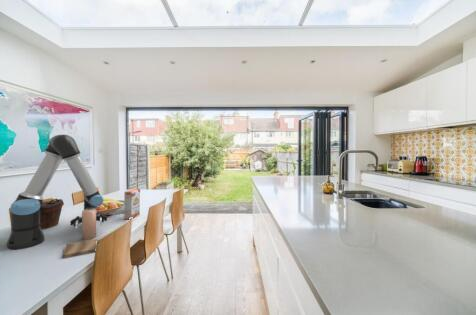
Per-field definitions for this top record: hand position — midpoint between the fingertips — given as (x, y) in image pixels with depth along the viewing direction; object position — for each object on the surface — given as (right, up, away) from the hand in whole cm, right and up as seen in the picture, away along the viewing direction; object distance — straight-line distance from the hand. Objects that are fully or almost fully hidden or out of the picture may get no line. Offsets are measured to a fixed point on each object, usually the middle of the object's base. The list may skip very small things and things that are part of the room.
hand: (88, 224), depth 129 cm
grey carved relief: (-10, -7, +57) cm, 58 cm away
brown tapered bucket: (-43, -7, +22) cm, 49 cm away
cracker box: (+4, -8, +44) cm, 45 cm away
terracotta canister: (-2, -9, +4) cm, 10 cm away
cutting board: (+4, -10, -11) cm, 15 cm away
